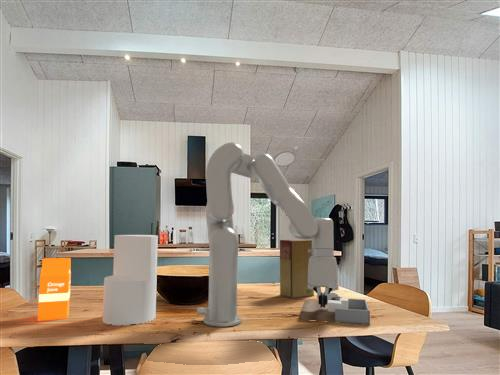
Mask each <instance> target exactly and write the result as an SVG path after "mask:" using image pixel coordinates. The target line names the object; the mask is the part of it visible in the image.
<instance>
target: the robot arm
mask: <svg viewBox="0 0 500 375" xmlns="http://www.w3.org/2000/svg"><path fill="white" fill-rule="evenodd" d="M205 169H206V171H205V184H206V187H205V188H206V199H207V202H206V206H205V216H206V217H205V218H206V228H207V237H208V244H209V252H208V253H209V256H208V257H209V258H208V259H209V260H208V306H206V307H201V306H200V307H197V308H196V313H197V315H204V316H205V317H203V323H204V324H205V325H207V326H211V327H217V328H218V327H219V328H220V327H223V328H224V327H225V328H226V327H233V326H236V325H239V324H241V323H242V317H241V316H240V315H238V259H239V258H238V257H239V237H238V234H237V232H236V231H235V230H234V218H233V215H234V211H235V206H234V200H233V193H232V174H234V175H238V176H241V177H245V178H249V179H254V180H257V181H258V183H259V185H260V187H261V188H262V190H263V191H264V192H265V195H266V196H267V198H268V199H269V200H270V201H271V203H272V204H274V205H275V206H276V207H278V208H279V209H280V210H282V212H283V213H284V214H285V216H286V217H287V218H288V219H289V221H290V222H289V224H288V231H289V233H290V234H291V236H293V237H294V238H296V239H299V240H301V239H302V240H312V249H310V250H309V249H308V253H310V254H312V256H311V257H310V258H309V265H308V286H307V288H309V289H312V290H314V293H316V294H318V298H319V299H318V298H317V299H318V301H319V304H320V307H324V308H325V305H327V302H328V301H327V295H328V294H329V293H332V292H334V291H338V290H339V289H340V288H339V277H338V275H339V271H338V262H337V258H336V257H335V255H334V254H335V253H334V252H335V251H334V249H335V248H334V244H335V243H334V240H335V238H334V221H333V220H334V219H332V218H329V217H317V218H316V217H314V215H313V213H312V211H310V209H309V207H308V206H307V204H306V203H305V202H304V200H303V199H302V198H301V197H300V195H299V194H297V192H295V190H294V189H293V188H292V186H291V185H290V184H289V182H288V180H287V179H286V178H285V176H284V174H283V172H282V171H281V169H280V168H279V166H278V165H277V163H276V162H275V160H274V158H273V157H272V156H271V155H270V154H268V153H265V152H263V153H262V152H261V153H258V154H256V155H252V154H248V153H246V152H244V150H243V148H242V147H241V145H240V144H238V143H237V142H225V143H224V144H222V145H221V146H219V147H217V149H216V150H214V152H213V153H212V154H211V155H210V158H209V160H208V161H207V165H206V168H205ZM322 288H324V292H322ZM322 293H324V295H322Z"/></svg>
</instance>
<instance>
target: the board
mask: <svg viewBox="0 0 500 375" xmlns="http://www.w3.org/2000/svg"><path fill="white" fill-rule="evenodd" d="M305 320H316V321H315V322H319V321H327V322H326V323H333V322H335V312H329V311H328V301H327V305H325V308H324V307H320V304H319V300H304V302H303V305H302V307H301V309H300V321H305Z"/></svg>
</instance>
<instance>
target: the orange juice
mask: <svg viewBox="0 0 500 375" xmlns="http://www.w3.org/2000/svg"><path fill="white" fill-rule="evenodd" d="M71 260H72V258H71V257H54V258H53V257H51V258H49V257H47V258H42V264H41V269H40V276H39V277H40V278H39V293H38V307H37V308H38V311H37V321H38V322H40V321H51V320H52V321H53V320H61V319H62V320H66V319H68V316H69V314H70V299H71V298H70V296H71V278H72V271H71V268H72V267H71V266H72V265H71V263H72V262H71Z"/></svg>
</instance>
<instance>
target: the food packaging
mask: <svg viewBox="0 0 500 375" xmlns="http://www.w3.org/2000/svg"><path fill="white" fill-rule="evenodd" d="M308 249H309V250H310V249H312V239H280V240H279V281H280V282H279V291H280V292H279V296H281V297H284V296H285V297H284V298H288V299H298V298H299V299H300V298H306V297H313V296H315V291H314V290H312V289H309V288H307V286H308V265H309V258H310V257H311V256H312V254H310V253H308Z"/></svg>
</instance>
